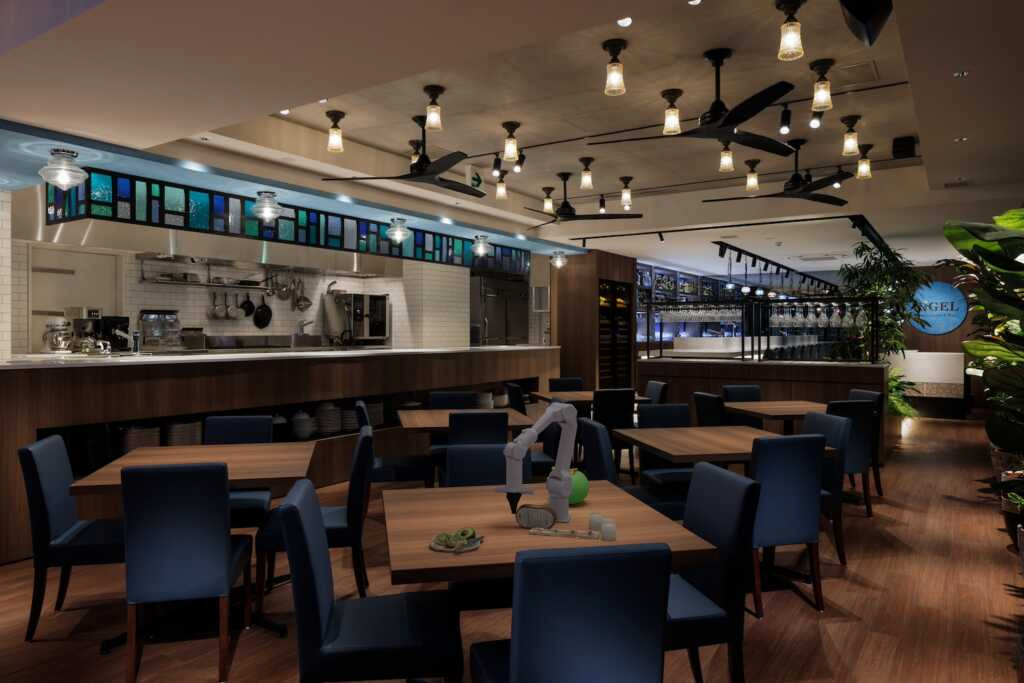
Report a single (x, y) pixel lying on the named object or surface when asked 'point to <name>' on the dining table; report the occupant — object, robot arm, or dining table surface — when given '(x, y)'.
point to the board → (565, 533)
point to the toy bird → (577, 486)
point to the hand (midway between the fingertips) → (513, 513)
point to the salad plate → (457, 541)
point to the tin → (536, 516)
